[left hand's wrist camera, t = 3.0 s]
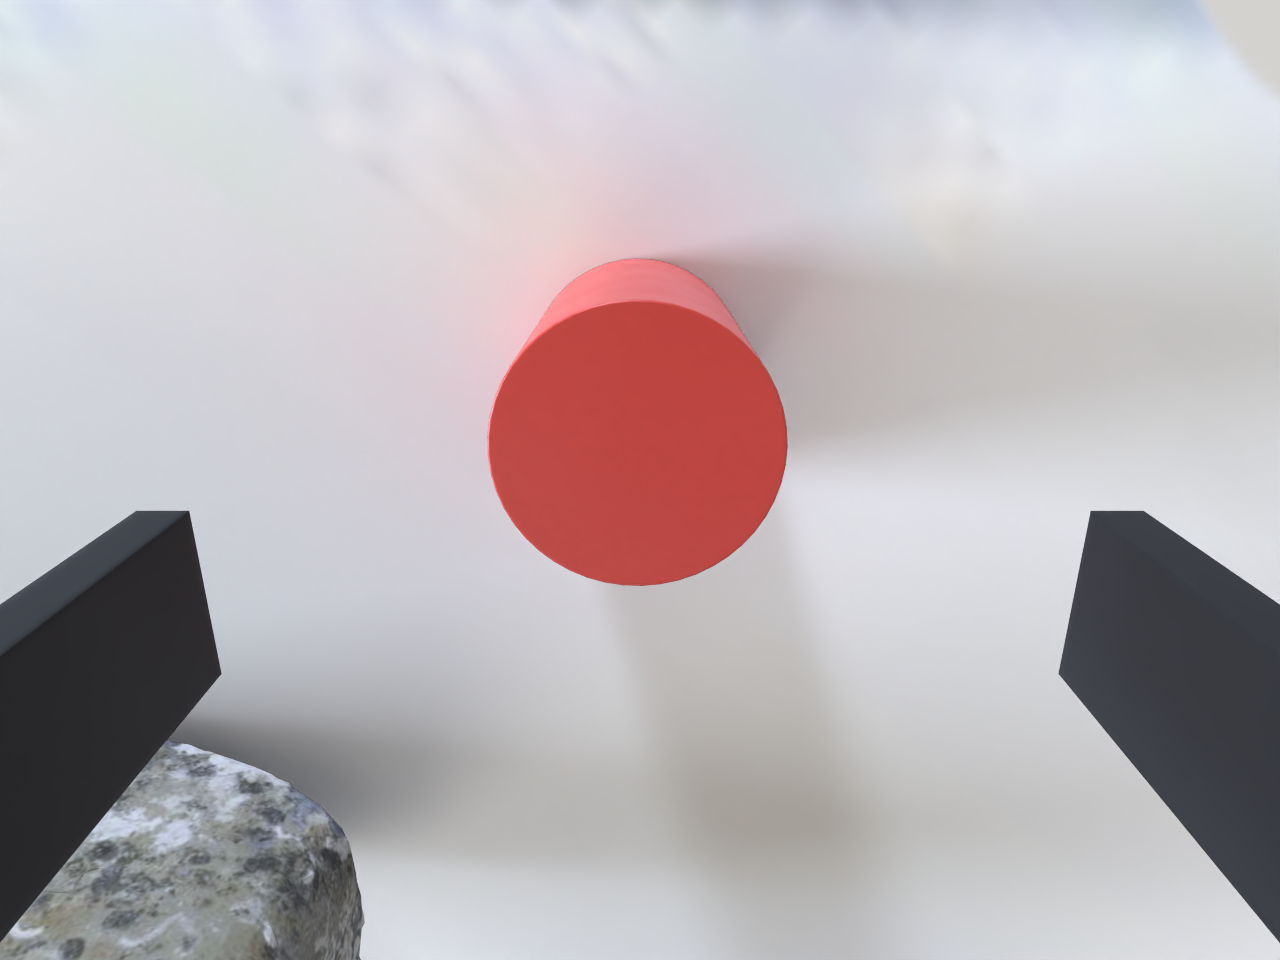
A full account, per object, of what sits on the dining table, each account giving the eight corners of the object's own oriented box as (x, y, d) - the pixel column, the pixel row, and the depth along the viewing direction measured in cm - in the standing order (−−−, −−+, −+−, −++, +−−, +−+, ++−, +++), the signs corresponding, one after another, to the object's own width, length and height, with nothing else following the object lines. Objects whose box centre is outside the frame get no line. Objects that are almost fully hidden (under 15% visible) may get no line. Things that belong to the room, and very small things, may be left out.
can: (756, 270, 27) (811, 317, 19) (726, 473, 30) (763, 598, 21) (539, 247, 27) (493, 284, 18) (527, 454, 29) (481, 573, 21)
